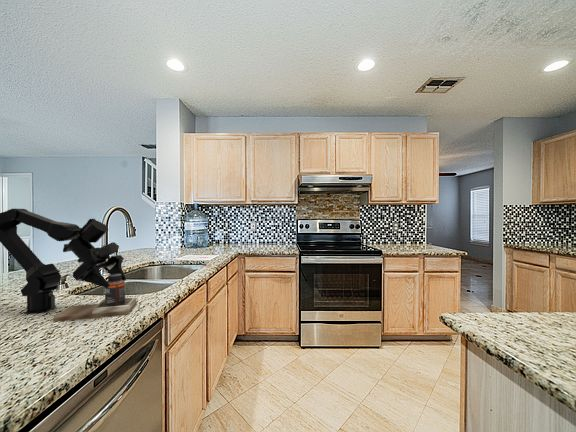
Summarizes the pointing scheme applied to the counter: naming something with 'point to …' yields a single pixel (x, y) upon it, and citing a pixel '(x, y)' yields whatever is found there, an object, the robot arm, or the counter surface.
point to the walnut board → (96, 310)
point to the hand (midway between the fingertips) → (117, 283)
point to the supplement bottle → (115, 291)
